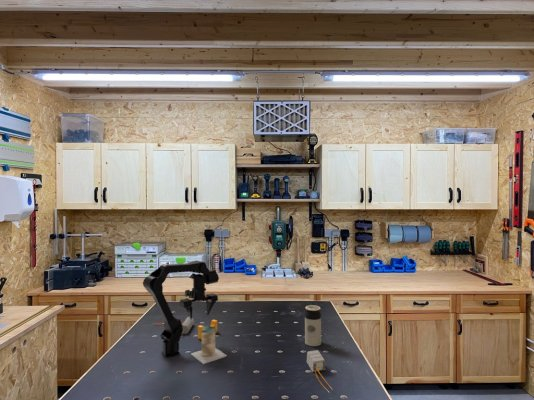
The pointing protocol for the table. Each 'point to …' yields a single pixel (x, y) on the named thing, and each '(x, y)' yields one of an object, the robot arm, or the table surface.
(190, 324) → the motor
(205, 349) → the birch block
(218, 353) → the grey pad
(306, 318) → the travel mug
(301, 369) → the table surface
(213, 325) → the pipe clamp
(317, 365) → the electrical component
